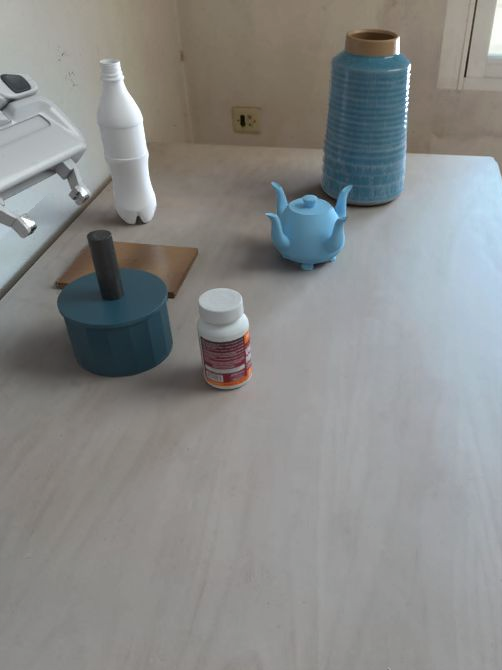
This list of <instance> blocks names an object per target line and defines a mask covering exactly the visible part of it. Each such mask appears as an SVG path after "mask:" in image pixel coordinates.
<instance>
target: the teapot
mask: <svg viewBox="0 0 502 670" xmlns="http://www.w3.org/2000/svg"><path fill="white" fill-rule="evenodd" d="M270 183H271V186H272V187H273V189H274V191H275V195H276V213H271V212H267V213H265V214H264V215H265V216H267V217H268V218H269V219H270V223H271V226H270V227H271V228H270V237H271V238H270V239H271V241H272V243H273V244H274V246H275V248H276V250H277V251H278V252H279V253H280V254H281V256H282V258H284V259H288V260H289V261H292V262H295V263H298V264H301V265H300V266H301V267H300V269H302V270H304V271H312V270H313V269H314V268H315V266H314V265H315V264H322V263H326V262H328V261H329V262H333V261H336V259H337V255H338V254H339V253H340V252H341V251H342V250H343V248H344V247H345V244H346V239H345V237H346V236H345V230H344V226H345V222H346V221H348V220H349V217H347V204H346V199H347V195H348V193H349V191H350V190H351V188H352V187H353V186H352V185H349V186H346V187H345V188H344V189H343V190H342V191H341V192H340V194H339V197H338V200H336V204H335V207H333V206H332V204H330V202H328V201H326V200H324V199H322V198H318V197H317V196H316V195H314V194H305V195H303V196H302V197H300V198H296V199H294V200H292V201H290V202H289V203H288V201H287V200H288V199H287V197H286V194H285V191H284V189H283V187H282V186H281V185H280V184H279V183H277V182H275V181H271V182H270Z"/></svg>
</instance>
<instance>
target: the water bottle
mask: <svg viewBox="0 0 502 670" xmlns="http://www.w3.org/2000/svg"><path fill="white" fill-rule="evenodd" d="M99 68H100V75H101V76H100V80H101V81H102V91H101V96H100V99H99V102H98V107H97V111H96V123H97V125H98V128H99V129H98V130H99V134H100V138H101V142H102V148H103V156H104V160H105V163H106V165H107V167H108V171H109V172H110V178H111V181H112V200H113V204H114V208H115V211H116V213H117V214H118V216H119V218H121V219H122V220H123V221H124V222H125V223H126V224H128V225H135V224H136V223H137V217H139V218H140V220H141V221H142V223H145V224H146V223H149V222H151V221H152V219H153V217H154V215H155V213H156V210H157V199H156V193H155V191H154V189H153V185H152V183H151V177H150V171H149V156H150V153H149V149H148V146H147V140H146V135H145V128H144V123H143V122H144V118H143V114H142V111H141V110H140V108H139V106H138V105H137V103H136V101H135V99H134V98H133V97H132V96H131V94H130V92H129V91H128V89H127V86H126V84H125V82H124V80H125V76H124V74H123V71H122V67H121V61H120V59H116V58H104V59H100V60H99Z"/></svg>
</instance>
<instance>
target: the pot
mask: <svg viewBox="0 0 502 670" xmlns="http://www.w3.org/2000/svg"><path fill="white" fill-rule="evenodd" d="M62 318H63V321H64V325H65V327H66V331H67V335H68V337H69V341H70V344H71V348H72V351H73V354H74V357H75V358H76V360H77V362H78V364H79V365H80V366H81V367H82V368H83V369H85V370H86V371H88V372H90V373H92V374H95V375H99V376H103V377H115V378H116V377H129V376H134V375H137V374H141V373H144V372H146V371H149V370H151V369H153V368H155V367H157V366H158V365H160V364H161V363H163V362H164V361H165V360H166V359H167V358H168V356H169V355H170V354H171V352H172V350H173V345H174V341H173V335H172V327H171V322H170V317H169V309H168V303H167V302H166V303H165V305H164V306H163V307H162V308H161V309H160V310H159V311H158V312H157V313H156V314H154V315H153V316H151V317H150V318H148V319H146V320H143V321H141V322H139V323H136V324H132V325H129V326H125V327H119V328H111V329H94V328H86V327H82V326H78V325H75V324H73V323H71V322H69V321H67V320H66V319H65V318H64V317H63V316H62Z"/></svg>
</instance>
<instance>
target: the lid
mask: <svg viewBox="0 0 502 670" xmlns="http://www.w3.org/2000/svg"><path fill="white" fill-rule="evenodd" d="M86 240H87V245H88V244H89V248H90V252H91V256H92V260H93V264H94V269H95V272H93V273H90V274H87V275H84V276H82V277H80V278H78V279H76V280H74V281H72V282H71V283H69V284H68V285H67V286H66V287H64V289H61V291H60V292H59V293H58V296H57V299H56V306H57V309H58V312H59V314H60V316H61V317H62V318H63V317H64V318H65V319H66V320H67V321H69V322H71V323H73V324H75V325H78V326H82V327H86V328H94V329H111V328H119V327H125V326H129V325H132V324H136V323H139V322H141V321H143V320H146V319H148V318H150V317H151V316H153V315H154V314H156V313H157V312H158V311H159V310H160V309H161V308H162V307H163V306H164V305H165V303H166V304H167V300H168V291H167V287H166V285H165V283H164V282H163V281H162V280H161V279H160V278H159V277H158V276H156V275H154V274H152V273H149V272H146V271H143V270H138V269H128V268H119V266H118V262H117V257H116V252H115V248H114V243H113V241H114V239H113V235H112V232H111V231H110V230H107V229H95V230H93V231H90V232H88V233H87V235H86ZM64 318H63V319H64Z"/></svg>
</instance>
